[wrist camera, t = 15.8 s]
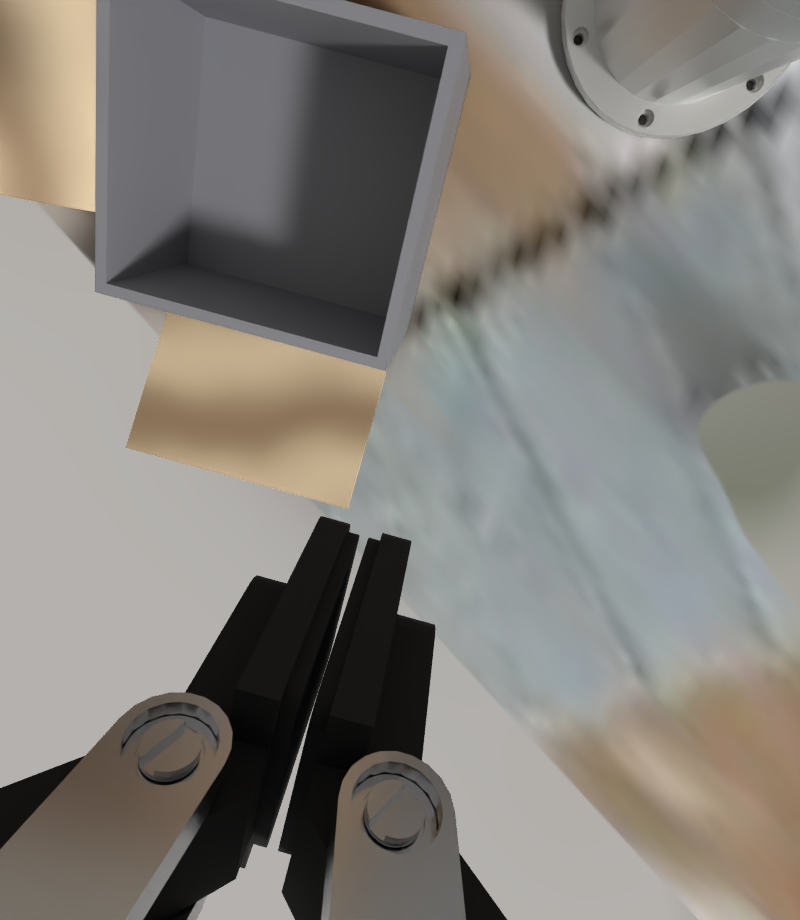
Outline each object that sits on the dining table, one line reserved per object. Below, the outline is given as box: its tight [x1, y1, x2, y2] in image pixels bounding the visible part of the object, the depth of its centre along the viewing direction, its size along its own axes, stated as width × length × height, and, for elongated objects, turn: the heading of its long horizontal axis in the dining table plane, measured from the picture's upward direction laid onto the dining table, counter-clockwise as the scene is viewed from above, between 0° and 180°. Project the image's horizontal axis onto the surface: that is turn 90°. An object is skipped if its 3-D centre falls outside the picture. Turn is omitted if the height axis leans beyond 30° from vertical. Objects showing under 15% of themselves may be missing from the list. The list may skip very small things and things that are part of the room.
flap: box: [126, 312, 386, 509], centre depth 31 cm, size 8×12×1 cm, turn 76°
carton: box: [95, 0, 470, 371], centre depth 32 cm, size 15×16×10 cm
